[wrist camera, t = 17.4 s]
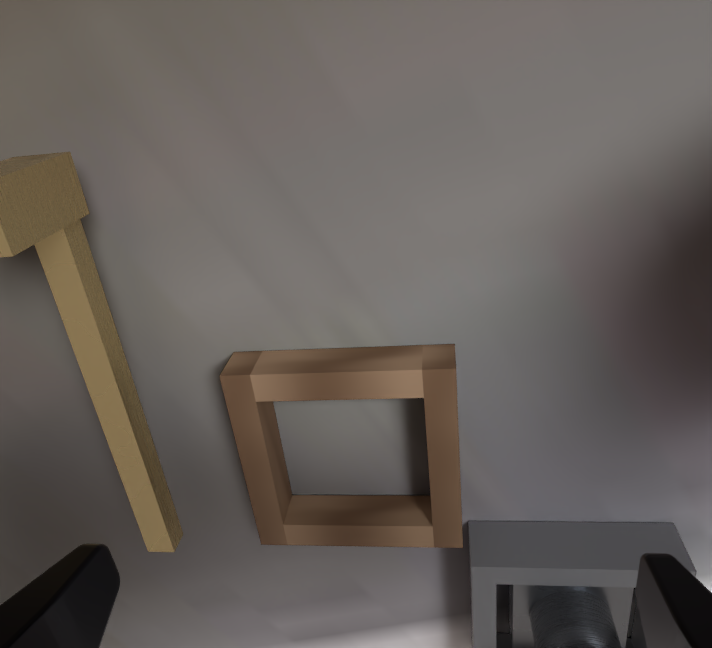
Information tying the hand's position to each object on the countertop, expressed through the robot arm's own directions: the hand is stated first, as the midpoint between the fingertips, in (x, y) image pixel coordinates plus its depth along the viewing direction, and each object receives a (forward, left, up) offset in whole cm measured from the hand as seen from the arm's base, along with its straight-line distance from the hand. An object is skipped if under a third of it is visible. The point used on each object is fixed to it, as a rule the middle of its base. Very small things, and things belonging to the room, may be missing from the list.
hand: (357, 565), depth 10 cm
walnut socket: (+3, +8, -13) cm, 15 cm away
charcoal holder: (-6, +17, -13) cm, 22 cm away
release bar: (+11, +3, -11) cm, 16 cm away
